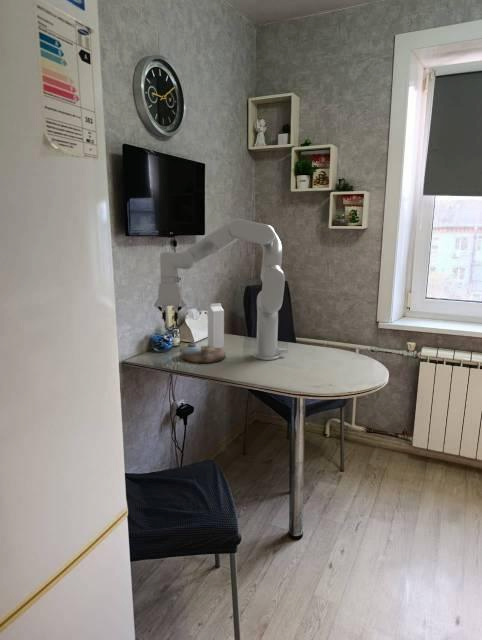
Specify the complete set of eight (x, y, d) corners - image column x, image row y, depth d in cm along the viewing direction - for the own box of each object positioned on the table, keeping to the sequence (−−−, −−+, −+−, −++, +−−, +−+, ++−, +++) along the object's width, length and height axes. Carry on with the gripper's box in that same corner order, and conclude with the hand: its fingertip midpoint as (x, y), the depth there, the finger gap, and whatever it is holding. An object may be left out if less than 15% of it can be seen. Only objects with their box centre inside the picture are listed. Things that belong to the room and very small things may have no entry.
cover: (200, 350, 202) (200, 342, 201) (200, 355, 194) (200, 346, 194) (183, 350, 201) (183, 342, 201) (182, 355, 194) (182, 346, 193)
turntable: (224, 349, 209) (224, 346, 209) (227, 362, 190) (227, 358, 190) (182, 350, 208) (182, 347, 207) (181, 362, 188) (180, 359, 188)
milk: (207, 346, 217) (207, 303, 212) (218, 344, 220) (218, 302, 215) (213, 349, 212) (213, 304, 207) (224, 347, 215) (224, 303, 210)
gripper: (188, 279, 194) (189, 319, 198) (150, 279, 193) (152, 319, 197) (188, 281, 187) (188, 322, 191) (148, 281, 186) (150, 322, 189)
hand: (170, 320), depth 194 cm, fingers open, 4 cm apart
